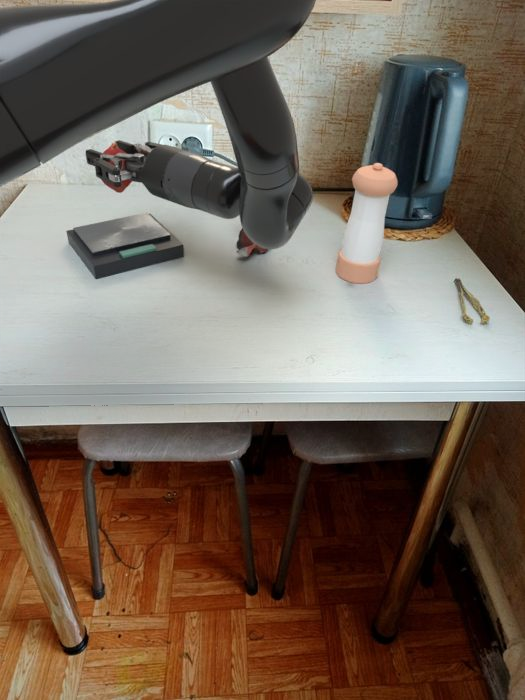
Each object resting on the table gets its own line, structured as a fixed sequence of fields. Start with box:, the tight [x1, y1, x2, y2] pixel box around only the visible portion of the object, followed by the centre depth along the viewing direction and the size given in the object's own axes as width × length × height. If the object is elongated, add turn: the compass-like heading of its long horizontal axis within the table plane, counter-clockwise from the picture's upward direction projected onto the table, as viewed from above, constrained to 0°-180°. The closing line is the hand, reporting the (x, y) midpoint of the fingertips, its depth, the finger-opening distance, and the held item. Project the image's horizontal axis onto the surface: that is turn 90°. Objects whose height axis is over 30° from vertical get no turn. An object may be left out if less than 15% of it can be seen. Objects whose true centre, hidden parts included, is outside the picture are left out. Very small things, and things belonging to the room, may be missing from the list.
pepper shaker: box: [335, 162, 399, 284], centre depth 84 cm, size 7×7×19 cm
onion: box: [100, 142, 133, 194], centre depth 81 cm, size 6×6×8 cm
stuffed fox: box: [235, 227, 269, 258], centre depth 90 cm, size 8×11×12 cm
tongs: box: [453, 277, 491, 325], centre depth 84 cm, size 4×13×2 cm, turn 3°
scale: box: [66, 212, 185, 280], centre depth 90 cm, size 16×14×3 cm
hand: (103, 151), depth 81 cm, fingers closed on onion, 5 cm apart
